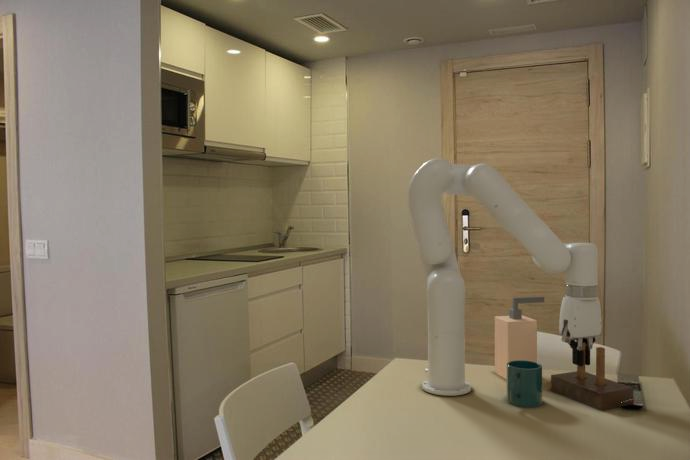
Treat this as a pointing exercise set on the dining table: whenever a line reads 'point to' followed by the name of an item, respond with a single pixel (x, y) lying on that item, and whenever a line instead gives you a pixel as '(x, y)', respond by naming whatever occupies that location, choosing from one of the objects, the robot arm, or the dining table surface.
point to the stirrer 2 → (600, 366)
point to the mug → (524, 383)
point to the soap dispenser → (515, 336)
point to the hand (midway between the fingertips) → (581, 364)
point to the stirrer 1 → (581, 368)
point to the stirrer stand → (592, 390)
